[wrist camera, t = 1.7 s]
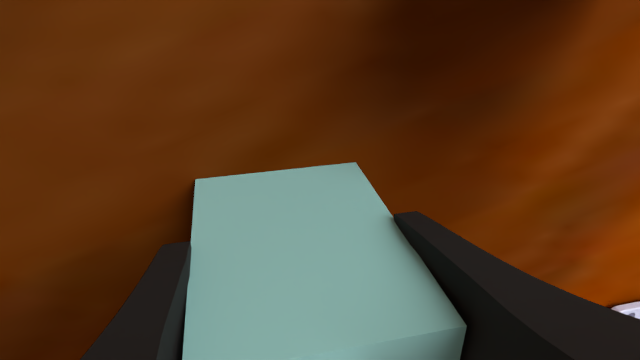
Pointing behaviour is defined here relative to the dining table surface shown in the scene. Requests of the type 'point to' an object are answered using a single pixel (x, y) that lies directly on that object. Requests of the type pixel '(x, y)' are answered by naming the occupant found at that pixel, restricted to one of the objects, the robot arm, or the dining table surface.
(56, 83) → the dining table surface
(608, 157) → the dining table surface
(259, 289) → the domino teal
